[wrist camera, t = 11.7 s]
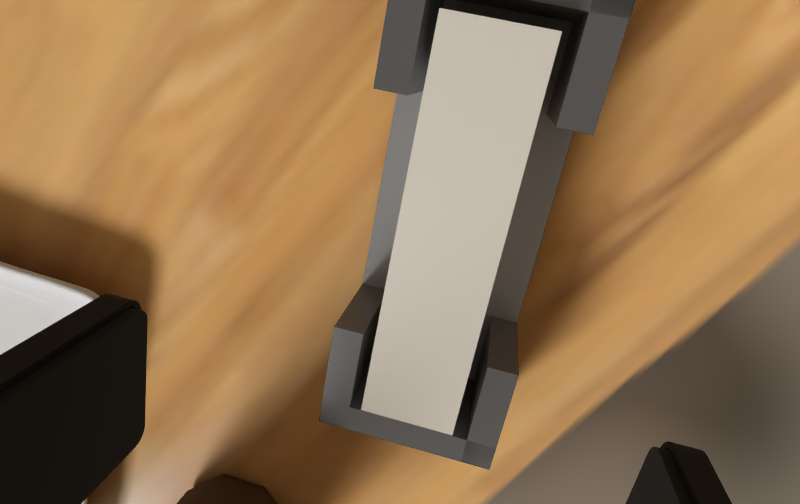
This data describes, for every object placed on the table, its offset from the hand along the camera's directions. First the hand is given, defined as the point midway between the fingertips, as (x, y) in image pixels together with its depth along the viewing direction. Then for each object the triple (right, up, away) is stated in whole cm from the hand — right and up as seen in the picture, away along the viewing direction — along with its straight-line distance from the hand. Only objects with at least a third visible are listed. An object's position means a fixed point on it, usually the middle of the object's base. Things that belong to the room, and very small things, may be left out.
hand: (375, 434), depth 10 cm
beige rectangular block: (+3, +5, +16) cm, 17 cm away
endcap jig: (+3, +6, +17) cm, 18 cm away
